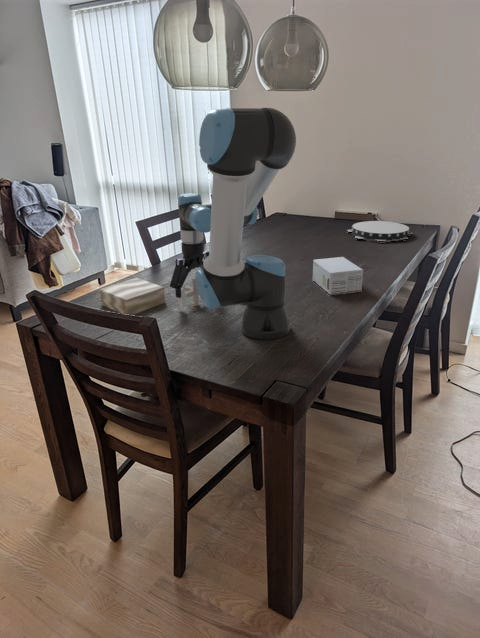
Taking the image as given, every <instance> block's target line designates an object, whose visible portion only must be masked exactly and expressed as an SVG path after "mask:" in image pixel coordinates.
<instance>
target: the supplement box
mask: <svg viewBox="0 0 480 638" xmlns="http://www.w3.org/2000/svg"><path fill="white" fill-rule="evenodd" d="M363 276H364V269H363V268H361V267H359V266H358V265H356V264H355V263H353V262H351V260H349V259H347V258H346V257H344V256H337V257H328V258H318V259H317V258H316V259H313V264H312V282H313V281H315V282H316V283H317V284H318V285H319V286H321V287H322V288H323V289H324V290H325V291H327V292H328V293H329V294H332V293H340V292H347V291H355V290H361V291H362V288H363V280H364V279H363Z"/></svg>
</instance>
